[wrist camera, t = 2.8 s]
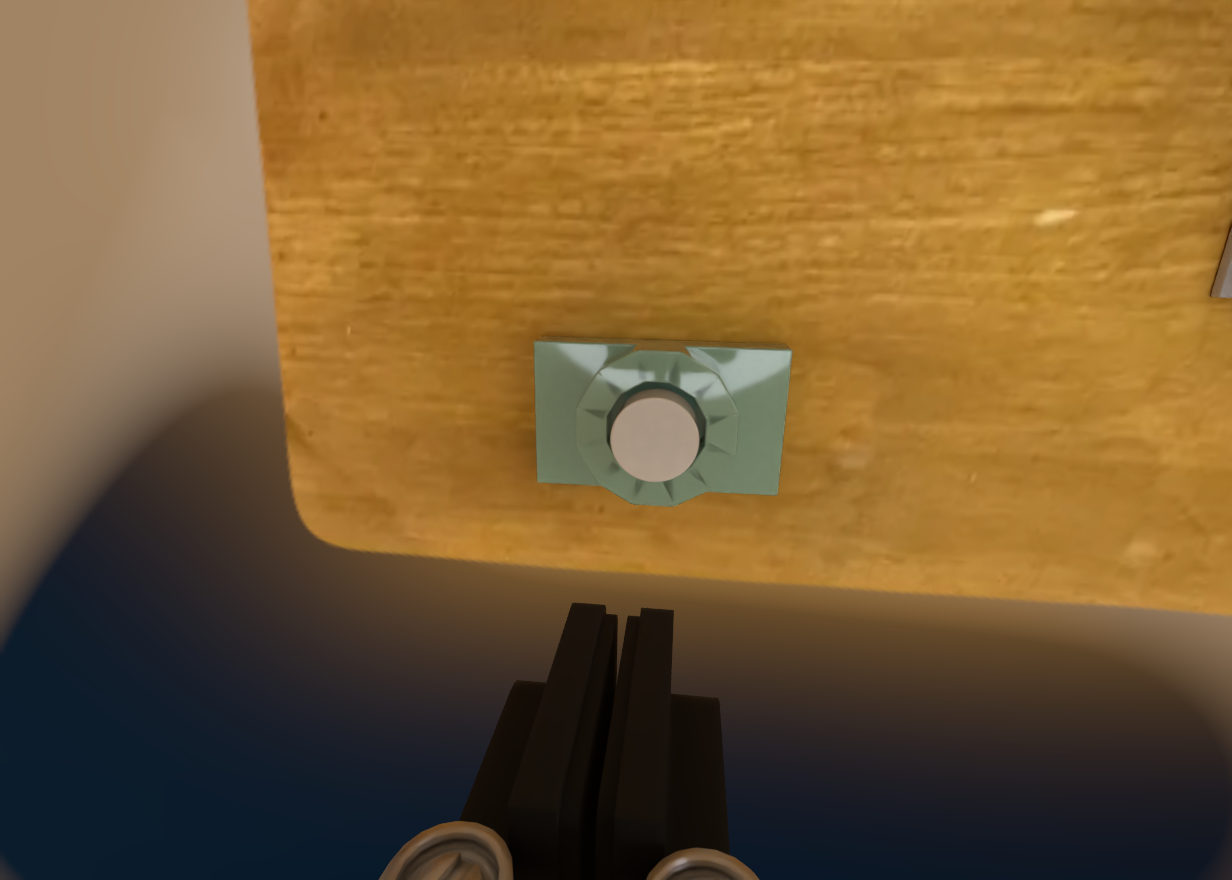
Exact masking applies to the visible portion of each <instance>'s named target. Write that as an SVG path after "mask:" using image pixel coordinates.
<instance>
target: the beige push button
mask: <svg viewBox="0 0 1232 880" xmlns="http://www.w3.org/2000/svg"><path fill="white" fill-rule="evenodd" d="M610 444H611V449H612V452H613V455H614V457H615V459H616V461H617V462H618V464H619V465H620V466H621V467H622V468H623V469H624V470H625V471H626V472H627V473H629V474H630V475H632V476H633V477H635V478H638V479H640V480H644V481H649V482H662V481H667V480H671V479H673V478H675V477H677V476H679V475H681V474H682V473H683V472H685V471H686V470H687V469H688V468H689V467H690V465H691V464H692V463H693V461H694V459H695V457H696V455H697V452H698V448H699V426H698V420H697V417H696V414H695V412H694V410H693V408H692V407H691V405H690V404H689V403H688V402H687V401H686V400H685V399H684V398H683V397H681V396H680V395H679V394H677V393H675V392H672V391H670V390H666V389H660V388H652V389H646V390H642V391H640V392H637V393H635V394H634V395H632V396H631V397H629V398H628V399H627V400H626V401H625V402H624V403H623V404H622V406H621V407H620V409H619V411H618V413H617V415H616V418H615V421H614V423H613V426H612V429H611V435H610Z"/></svg>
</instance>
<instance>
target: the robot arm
mask: <svg viewBox="0 0 1232 880" xmlns="http://www.w3.org/2000/svg"><path fill="white" fill-rule="evenodd" d="M673 617H674V610H664V609H651V608H641V614H640V617H638V616H628V619H627V625H626V630H625V636H624V642H623V649H622V655H621V661H620V668H619V674H618V680H617V686H616V676H617V627H618V618H617V615H613V614H612V615H611V614H606V606H605V605H598V604H585V603H572V605H571V608H570V611H569V614H568V617H567V621H566V624H565V627H564V630H563V633H562V636H561V639H560V643H559V645H558V649H557V652H556V655H555V658H554V661H553V664H552V668H551V670H550V673H549V677H548V680H547V683H543V682H532V681H521V680H517V681H516V682H515V683H514V685H513V687H512V689H511V691H510V693H509V696H508V698H507V701H506V704H505V706H504V709H503V711H502V714H501V716H500V719H499V721H498V724H497V726H496V729H495V731H494V734H493V737H492V739H491V741H490V744H489V747H488V749H487V752H486V754H485V757H484V759H483V762H482V764H481V767H480V769H479V772H478V774H477V777H476V780H475V782H474V784H473V787H472V790H471V792H470V795H469V797H468V800H467V802H466V805H465V807H464V810H463V812H462V815H461V818H460V820H459V821H456V822H450V823H444V824H440V825H437V826H435V827H433V828H430V829H428V830H426V831H423V832H421V833H420V834H419V835H417V836H416V837H414V838H413V839H412V840H411V841H409V842H408V843H406V844H405V845H404V846H403V847H402V849H401V850H400V851H399V852H398V853H397V854H396V856H395V857H394V858H393V859H392V860H391V862H390V863H389V865H388V866H387V868H386V869H385V871H384V872H383V874H382V875H381V877H380V879H379V880H759V879H758V878H757V877H756V875H755V874H754V873H753V871H751V870H750V869H749V868H747V867H746V866H745V865H744V864H742V863H741V862H740V861H738V860H737V859H736V858H734V857H732V856H730V849H729V835H728V820H727V806H726V790H725V776H724V761H723V748H722V747H723V746H722V732H721V718H720V704H719V700H718V698H712V697H711V698H710V697H700V696H689V695H678V694H671V668H672V643H673Z"/></svg>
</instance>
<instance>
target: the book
mask: <svg viewBox="0 0 1232 880" xmlns="http://www.w3.org/2000/svg"><path fill="white" fill-rule="evenodd" d="M1211 297H1222V298H1232V228H1231V231H1230V234H1229V237H1228V241H1227V244H1226V247H1225V250H1224V254H1223V257H1222V260H1221V263H1220V267H1219V270H1218V273H1217V277H1216V280H1215V283H1214V286H1213V290H1212V293H1211Z"/></svg>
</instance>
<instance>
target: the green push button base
mask: <svg viewBox="0 0 1232 880" xmlns="http://www.w3.org/2000/svg"><path fill="white" fill-rule="evenodd" d="M792 352H793V351H792V349H791V348H790V347H789V346H788V345H787V344H771V343H740V342H710V341H679V340H648V339H618V338H587V337H557V336H541V337H540V338H538V339H537V340H535V341H534V378H535V419H536V461H537V482H541V483H559V484H577V485H595V486H602V487H604V488H606V489H607V490H609V491H611V492H612V493H614V494H616V495H617V496H619V497H621V498H622V499H624V500H626V501H627V502H629V503H631V504H634V505H651V506H668V507H673V506H677V505H679V504H681V503H683V502H685V501H688V500H690V499H692V498H694V497H696V496H698V495H701V494H703V493H705V492H721V493H739V494H757V495H775V496H776V495H777V494H778V487H779V477H780V468H781V458H782V448H783V439H784V429H785V420H786V410H787V400H788V391H789V381H790V371H791V362H792ZM652 388H660V389H666V390H670V391H672V392H675V393H677V394H679V395H680V396H681V397H683V398H684V399H685V400H686V401H687V402H688V403H689V404H690V405H691V407H692V408H693V410H694V412H695V414H696V417H697V420H698V426H699V448H698V452H697V455H696V457H695V459H694V461H693V463H692V464H691V465H690V467H689V468H688V469H687V470H686V471H685V472H683V473H682V474H681V475H679V476H677V477H675V478H673V479H671V480H667V481H662V482H649V481H644V480H640V479H638V478H635V477H633V476H632V475H630V474H629V473H627V472H626V471H625V470H624V469H623V468H622V467H621V466H620V465H619V464H618V462H617V461H616V459H615V457H614V455H613V452H612V449H611V444H610V435H611V429H612V426H613V423H614V421H615V418H616V415H617V413H618V411H619V409H620V407H621V406H622V404H623V403H624V402H625V401H626V400H627V399H628V398H629V397H631V396H632V395H634V394H635V393H637V392H640V391H642V390H646V389H652Z"/></svg>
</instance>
